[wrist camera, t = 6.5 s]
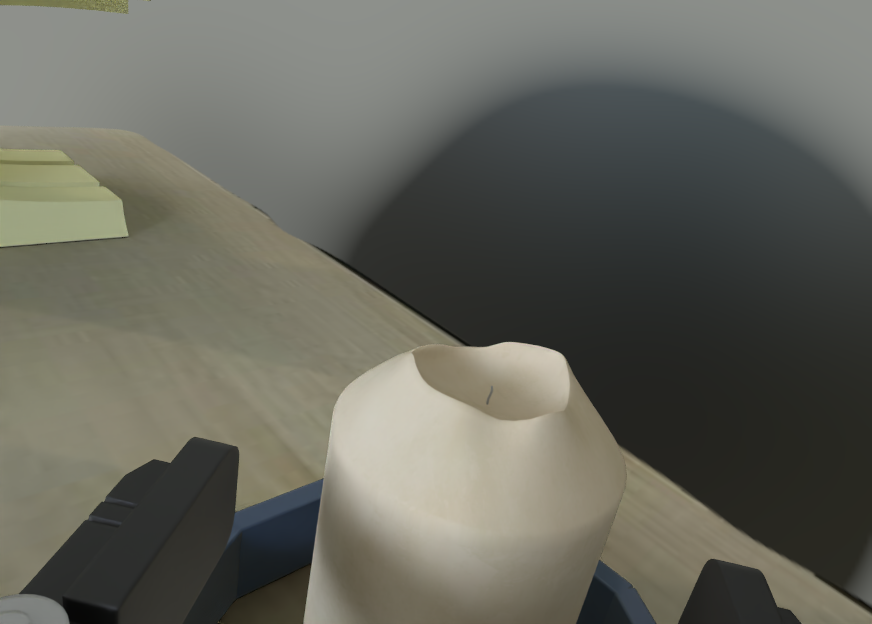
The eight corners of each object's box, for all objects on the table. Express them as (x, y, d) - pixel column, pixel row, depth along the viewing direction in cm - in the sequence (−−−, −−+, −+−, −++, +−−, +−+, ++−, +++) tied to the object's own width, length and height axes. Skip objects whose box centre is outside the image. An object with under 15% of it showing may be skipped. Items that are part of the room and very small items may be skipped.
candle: (446, 607, 20) (526, 291, 16) (567, 790, 16) (720, 425, 12) (257, 670, 17) (296, 305, 13) (345, 917, 13) (443, 491, 9)
